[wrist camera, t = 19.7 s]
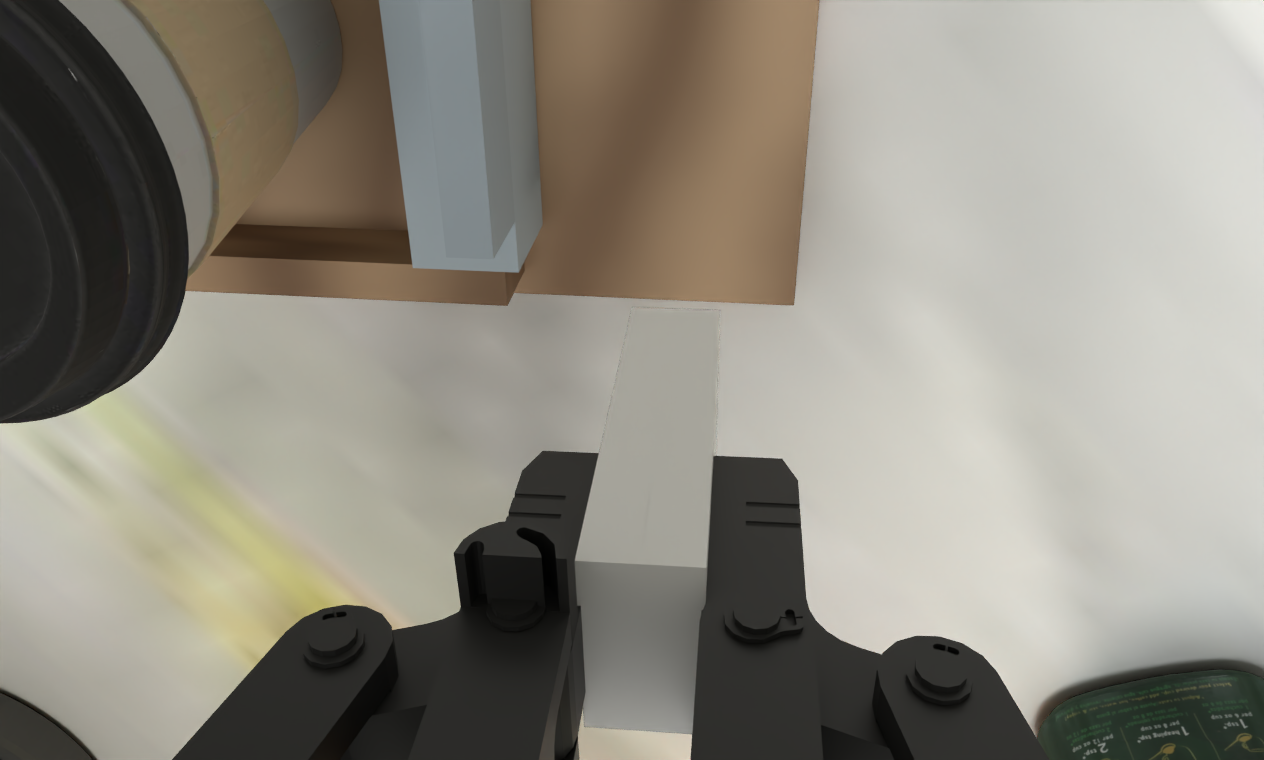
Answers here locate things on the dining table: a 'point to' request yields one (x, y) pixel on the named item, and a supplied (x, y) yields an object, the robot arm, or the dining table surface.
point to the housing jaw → (465, 130)
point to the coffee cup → (134, 170)
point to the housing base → (568, 165)
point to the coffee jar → (1162, 720)
